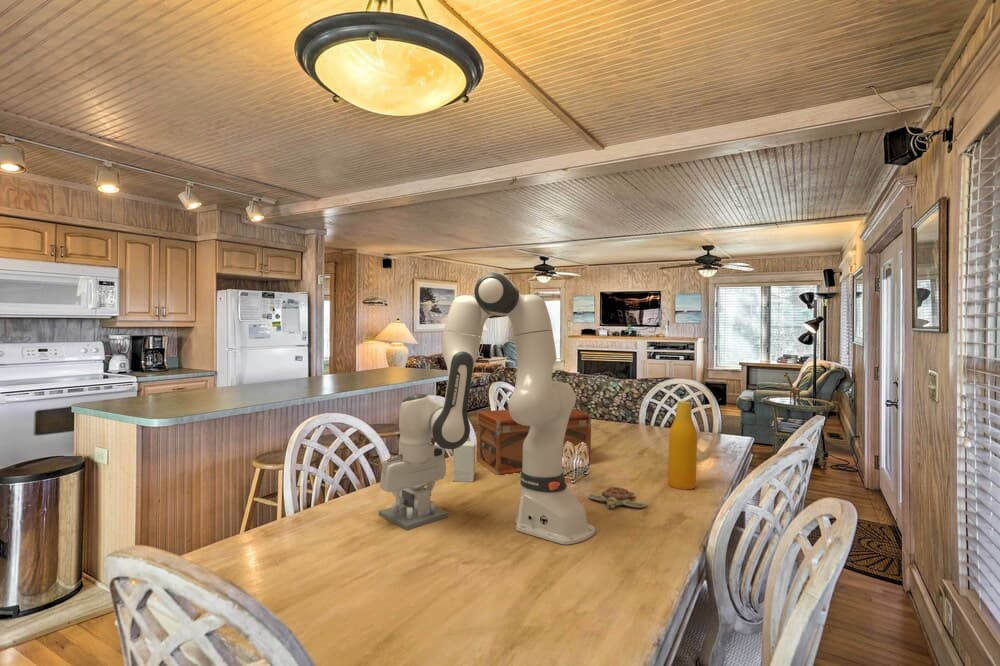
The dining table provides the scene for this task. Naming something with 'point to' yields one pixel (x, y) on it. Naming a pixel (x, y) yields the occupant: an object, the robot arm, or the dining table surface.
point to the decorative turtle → (617, 497)
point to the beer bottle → (682, 449)
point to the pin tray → (414, 521)
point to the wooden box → (518, 439)
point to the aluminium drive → (416, 500)
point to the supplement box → (464, 462)
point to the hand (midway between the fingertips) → (413, 500)
